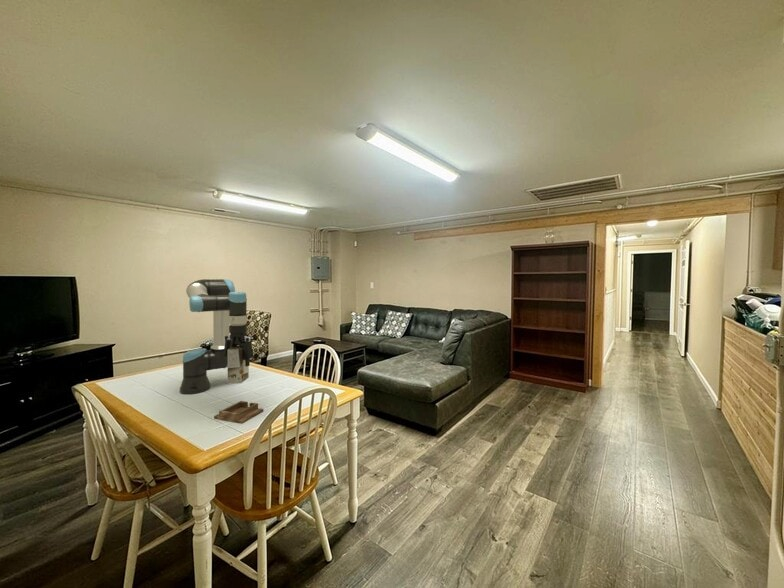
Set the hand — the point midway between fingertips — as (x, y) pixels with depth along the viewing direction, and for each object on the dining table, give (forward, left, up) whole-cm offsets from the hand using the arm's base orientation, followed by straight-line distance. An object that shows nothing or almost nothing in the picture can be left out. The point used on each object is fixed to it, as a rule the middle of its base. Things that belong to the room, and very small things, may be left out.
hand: (238, 372), depth 149 cm
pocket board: (0, 0, -21) cm, 21 cm away
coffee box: (0, 0, -4) cm, 4 cm away
